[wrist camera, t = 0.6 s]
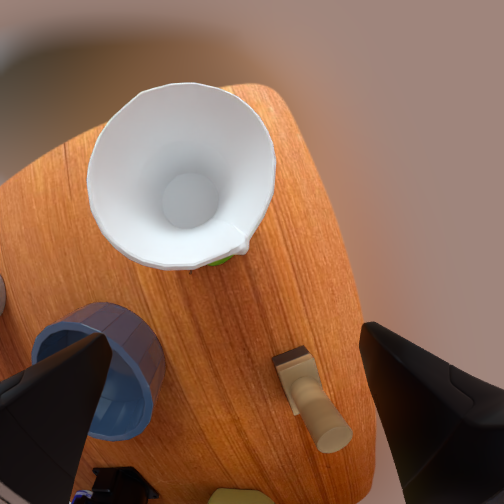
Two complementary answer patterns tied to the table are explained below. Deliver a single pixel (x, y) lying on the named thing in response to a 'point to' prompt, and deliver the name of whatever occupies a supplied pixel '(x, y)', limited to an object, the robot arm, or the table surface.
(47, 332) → the blue bowl
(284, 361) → the stamp
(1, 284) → the coffee cup
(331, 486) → the table surface
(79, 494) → the beverage can
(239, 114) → the cup
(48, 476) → the robot arm
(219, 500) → the flower pot
